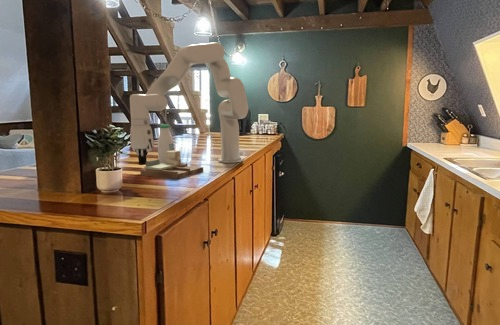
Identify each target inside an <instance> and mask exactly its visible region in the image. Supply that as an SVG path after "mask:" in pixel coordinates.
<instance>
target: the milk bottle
mask: <svg viewBox="0 0 500 325" xmlns="http://www.w3.org/2000/svg"><path fill="white" fill-rule="evenodd" d="M170 127H171V126H170V124H160V125H159V130H160V133H159V135H158V139H157V157H158V159H159V160H160V163H162V164H167V161H166V152H167V151H172V150H174V151H175V147H174V145H175V143H174V140H173V137H172V134H171V132H170Z"/></svg>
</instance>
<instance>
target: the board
mask: <svg viewBox="0 0 500 325" xmlns="http://www.w3.org/2000/svg"><path fill="white" fill-rule="evenodd" d="M139 171H140V176H144V177H145V176H147V177H154V178H163V179H170V180H180V179H183V178H186V177H190V176H193V175H197V174H200V173H203V172H204V167H203V166H193V165H188V163H185V162H184V163H183V162H181V165H178V166H175V167H171V168H167V169H163V170H154V169H145V168H144V169H141V170H139Z"/></svg>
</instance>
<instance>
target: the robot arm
mask: <svg viewBox="0 0 500 325" xmlns="http://www.w3.org/2000/svg"><path fill="white" fill-rule="evenodd" d="M224 57H225V48H224V47H223V45H222V44H220V43H219V42H216V41H215V42H208V43H207V42H206V43H198V44H197V43H196V44H190V45H186V46H182V47H180V49H179V50H177V52H176V53H175V55H174V57H173V58H172V59H171V61H170V63H169V64H168V66H167V67H166V69H165V70H164V71H163V72H162V73H161V74H160V75H159V77H158V78H157V79H156V80H154V81H153V83H152V84H151V86H150V87H149V88H148V90H147V91H146V92H145V94H144V93H143V94H142V93H133V94H130V95H129V110H130V112H129V113H130V124H131V125H130V134H131V136H129V138H130V139H129V142H130V141H131V143H130V147H131V148H132V151H133V152H135V153H136V155H137V156H138V158H137V159H138V165H139V166H144V165H145V166H146V161H148V160H147V156H148V153H151V152H153V148H155V147H154V146H155V143H154V142H155V141H154V136H153V135H154V134H153V129H152V126H151V125H150V124H151V120H150V115H149V114H150V113H149V111H153V112H155V111H156V112H161V111H163V110H165V109H166V108H167V106H168V104H169V103H168V102H169V100H168V98H167V97H166V96H165V95H166V94H167V93H168V92H169V91H170V90H172V89H173V88H175V87H177V86H178V85H179V84H181V83H182V81H183V79H184V78H185V77H186V75H187V74H188V72H189V70H190V69H191V68H192V66H195V65H199V64H205V65H206V66H207V67H208V68H209V70H210V71H211V73H212V77H213V80H214V86H215V89H216V93H217V95H218V96H219V97H221V98H228V99H224V100H223V101H221V102H220V103H219V104H218V108H217V113H218V117H219V122H220V123H219V124H220V152H221V153H220V156H221V157H220V158H218V159H217V160H218V162H219V163H223V164H235V163H241V162H243V158H242V157H241V156H243V155H244V153H243V152H242V151H240V125H239V121H238V120H243V119H245V118H246V117H247V115H248V113H249V104H248V99H247V93H246V89H245V88H246V87H245V85H244V84H243V82H242V80H241V79H240V78H238V77H233V76H231V75H232V74H231V71H230V68H229V65H228V63H227V61H226V59H225V58H224ZM130 134H129V135H130Z"/></svg>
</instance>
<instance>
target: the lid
mask: <svg viewBox="0 0 500 325" xmlns="http://www.w3.org/2000/svg"><path fill="white" fill-rule="evenodd" d="M171 167H175V165H172V164H162V163H160V160H159V159H157V158H156V159H152V160H147V161H146V164H145V166H144V169H154V170H163V169H167V168H171Z"/></svg>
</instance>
